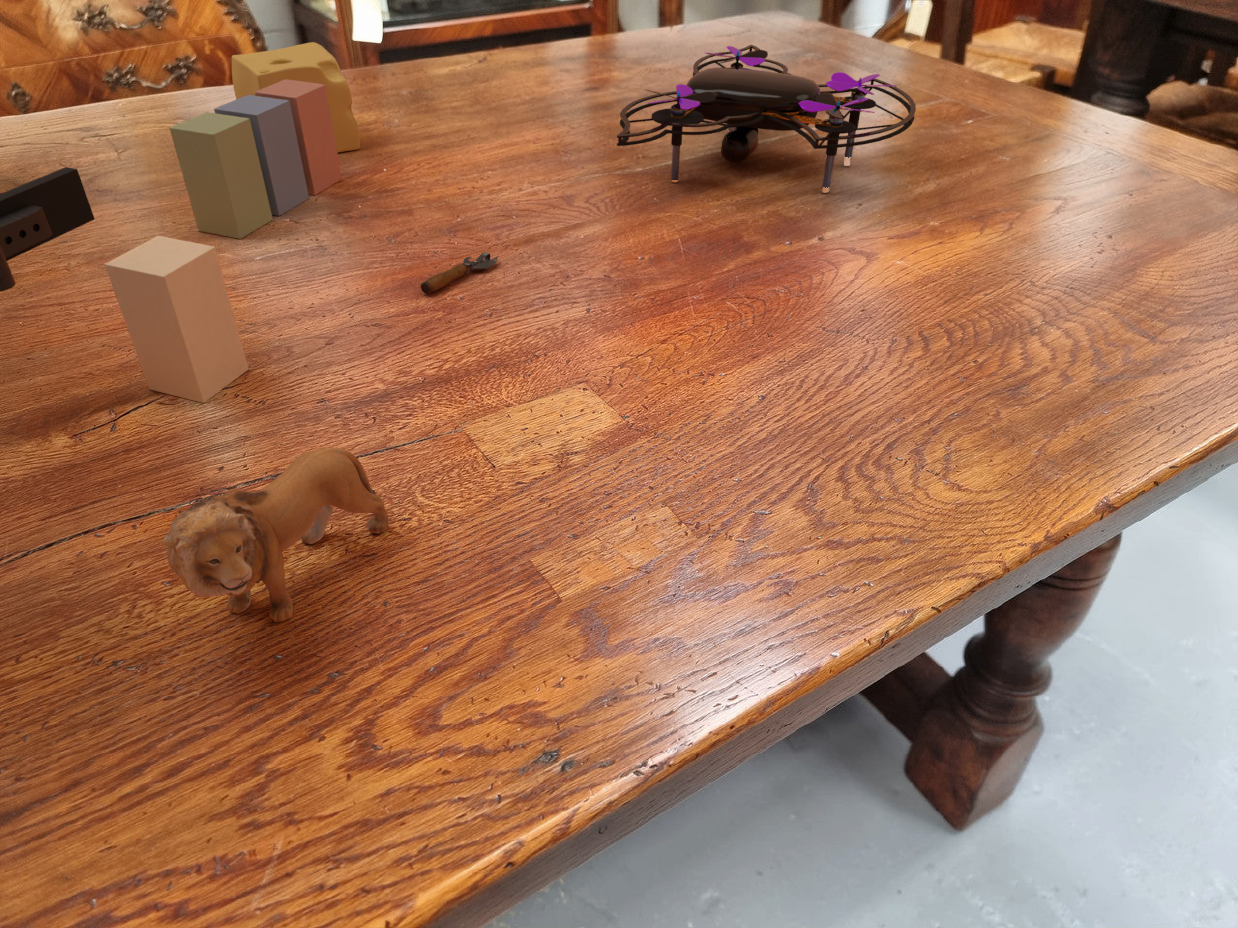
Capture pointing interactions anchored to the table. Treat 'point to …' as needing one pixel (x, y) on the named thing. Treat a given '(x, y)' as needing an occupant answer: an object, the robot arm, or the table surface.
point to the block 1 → (222, 174)
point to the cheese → (306, 67)
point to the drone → (764, 108)
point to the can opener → (457, 272)
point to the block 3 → (274, 148)
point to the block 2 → (179, 317)
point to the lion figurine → (267, 528)
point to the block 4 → (310, 130)
